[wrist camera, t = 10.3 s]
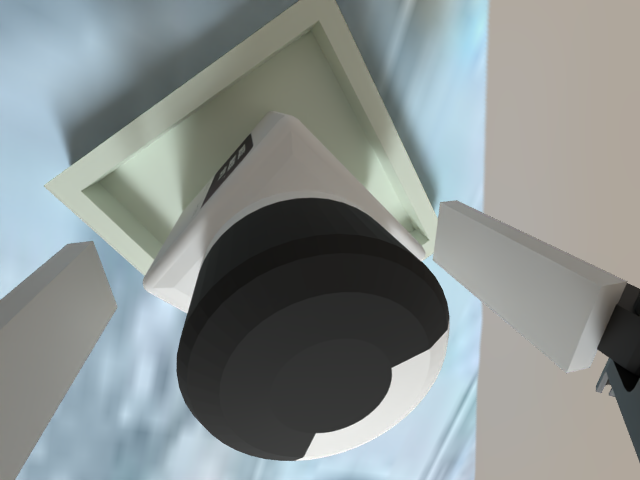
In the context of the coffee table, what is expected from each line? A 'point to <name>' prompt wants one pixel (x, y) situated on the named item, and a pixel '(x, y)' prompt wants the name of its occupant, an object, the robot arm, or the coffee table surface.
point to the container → (298, 302)
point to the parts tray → (246, 134)
